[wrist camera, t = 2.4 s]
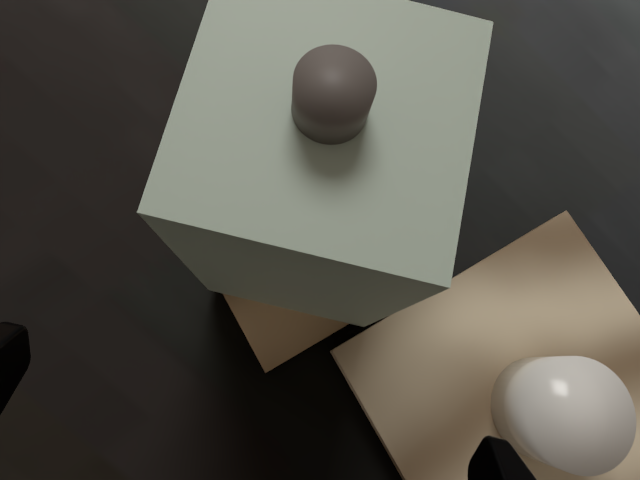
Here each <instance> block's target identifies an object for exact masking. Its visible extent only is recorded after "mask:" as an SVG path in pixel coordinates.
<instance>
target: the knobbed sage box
mask: <svg viewBox="0 0 640 480" xmlns="http://www.w3.org/2000/svg"><path fill="white" fill-rule="evenodd" d="M492 27H493V22H492V21H488V20H484V19H480V18H476V17H472V16H468V15H464V14H460V13H457V12H453V11H449V10H445V9H441V8H437V7H433V6H429V5H425V4H421V3H417V2H413V1H409V0H209V1H208V4H207V7H206V10H205V13H204V16H203V19H202V22H201V25H200V28H199V31H198V34H197V37H196V39H195V42H194V45H193V48H192V51H191V54H190V57H189V60H188V63H187V66H186V69H185V72H184V75H183V78H182V81H181V84H180V87H179V90H178V93H177V96H176V99H175V102H174V104H173V107H172V110H171V113H170V116H169V119H168V122H167V125H166V128H165V131H164V134H163V137H162V140H161V143H160V146H159V149H158V152H157V155H156V158H155V161H154V164H153V167H152V170H151V172H150V175H149V178H148V181H147V184H146V187H145V190H144V193H143V196H142V199H141V202H140V205H139V208H138V211H137V213H138V214H139V215H140V216H141V217H142V218H143V220H144V221H145V222H146V223H147V224H148V225H149V226H150V227H151V228H152V229H153V230H154V231H155V233H156V234H157V235H158V236H159V237H160V238H161V239H162V240H163V241H164V242H165V243H166V244H167V246H168V247H169V248H170V249H171V250H172V251H173V252H174V253H175V254H176V255H177V256H178V257H179V258H180V260H181V261H182V262H183V263H184V264H185V265H186V266H187V267H188V268H189V269H190V270H191V271H192V273H193V274H194V275H195V276H196V277H197V278H198V279H199V280H200V281H201V282H202V283H203V284H204V285H205V287H206V288H207V289H208V290H210V291H214V292H218V293H223V294H227V295H231V296H235V297H239V298H244V299H248V300H252V301H256V302H260V303H265V304H269V305H273V306H277V307H281V308H286V309H290V310H294V311H298V312H302V313H307V314H311V315H315V316H319V317H323V318H328V319H332V320H336V321H340V322H344V323H349V324H353V325H357V326H361V327H365V326H367V325H369V324H372V323H374V322H376V321H378V320H381V319H383V318H385V317H387V316H389V315H392V314H394V313H396V312H398V311H400V310H403V309H405V308H407V307H409V306H412V305H414V304H416V303H418V302H420V301H423V300H425V299H427V298H429V297H431V296H434V295H436V294H438V293H440V292H442V291H445V290H447V289H449V288H450V286H451V280H452V274H453V268H454V262H455V255H456V249H457V243H458V237H459V231H460V225H461V218H462V212H463V206H464V200H465V194H466V188H467V181H468V175H469V169H470V163H471V157H472V151H473V145H474V138H475V132H476V126H477V120H478V114H479V108H480V101H481V95H482V89H483V83H484V77H485V71H486V64H487V58H488V52H489V46H490V40H491V34H492Z"/></svg>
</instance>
